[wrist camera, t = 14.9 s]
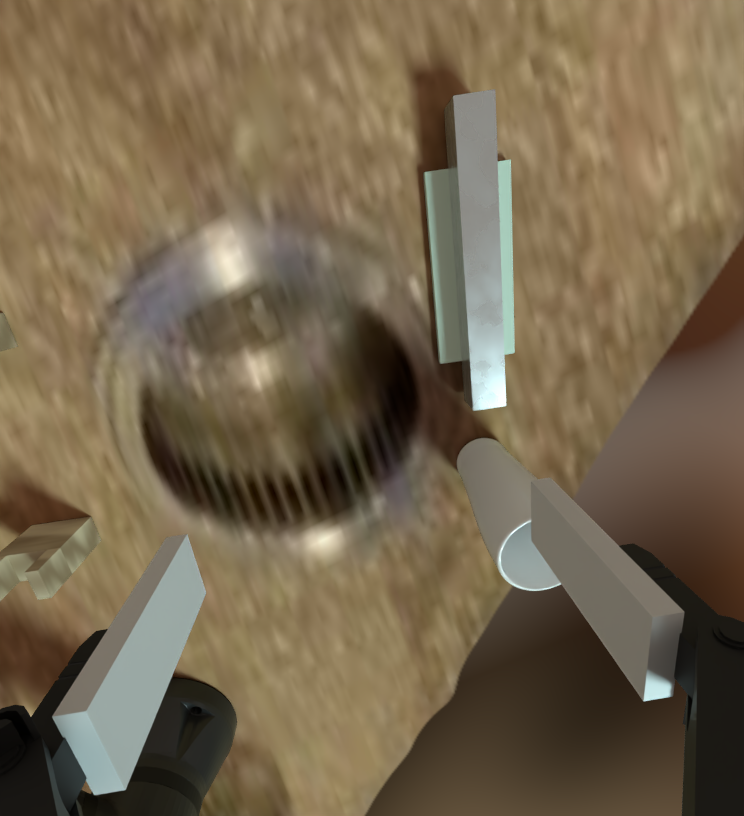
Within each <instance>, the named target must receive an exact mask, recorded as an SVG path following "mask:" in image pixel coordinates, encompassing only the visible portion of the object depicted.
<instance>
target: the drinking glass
mask: <svg viewBox="0 0 744 816" xmlns="http://www.w3.org/2000/svg"><path fill="white" fill-rule="evenodd" d="M457 470H458V472H459V475H460V477H461V479H462V481H463V484H464V487H465V489H466V492H467V495H468V498H469V501H470V504H471V507H472V510H473V513H474V516H475V519H476V522H477V525H478V528H479V531H480V534H481V536H482V539H483V541H484V543H485V545H486V548H487V550H488V552H489V554H490V556H491V558H492V559H493V561H494V563H495V565H496V567H497V568H498V570H499V572H500V574H501V575H502V577H503V578H504V579H505V580H506V581H507V582H509V583H510V584H511V585H513V586H515V587H517V588H520V589H524V590H531V591H538V590H546V589H550V588H553V587H556V586H558V585H560V584H561V583H560V581H559V580H558V578H557V577H556V575H555V574H554V573H553V571H552V570H551V568H550V567H549V565H548V564H547V563H546V561H545V560H544V558H543V557H542V555H541V554H540V553H539V551H538V550H537V548H536V547H535V545H534V544H533V543H532V541H531V481H532V480H538V479H537V478H536V477H535V476H534V475H533V474H532V473H531V472H530V471H529V470H527V469H526V468H525V467H524V466H523V465H522V464H521V463H520V462H519V461H518V460H516V459H515V458H514V457H513V456H512V455H511V454H510V453H509V452H508V451H507V450H506V448H505V447H504V446H503V445H502V444H501V443H499V442H498V441H496V440H494V439H490V438H479V439H475V440H473V441H471V442H469V443H468V444H466V445H465V446H464V447H463V448H462V450H461V451H460V453H459V455H458V458H457Z"/></svg>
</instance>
